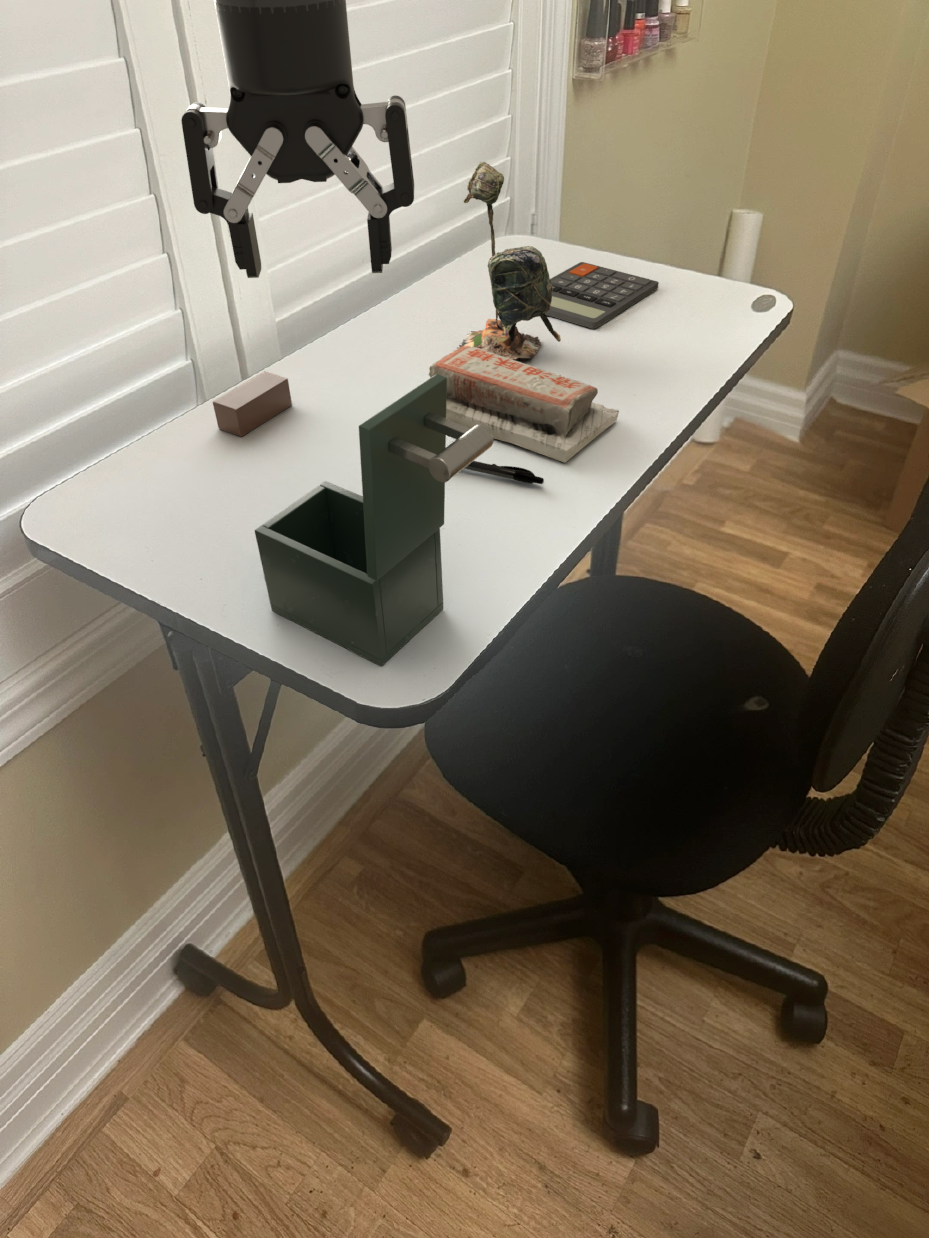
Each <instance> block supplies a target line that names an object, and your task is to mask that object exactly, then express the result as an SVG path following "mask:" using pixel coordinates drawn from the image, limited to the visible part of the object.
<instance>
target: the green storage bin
mask: <svg viewBox="0 0 929 1238" xmlns="http://www.w3.org/2000/svg"><path fill="white" fill-rule="evenodd" d="M254 535H255V540H256V545H257V549H258V554H259V558H260V562H261V566H262V567H261V568H262V572H263V577H264V581H265V586H266V590H267V595H268V601H269V603H270V608H271V611H272V612H274V613H276V614H277V615H280V616H282V617H283V618H285V619H287V620H288V621H289V620H290V621H292V622H293V623H295V624H297V625H299V626H301V627H303V628H305V629H307V630H308V631H311V632H312V633H315V634H317V635H318V636H321V637H323V638H325V639H327V640H329V641H331V642H332V643H334V644H336V645H338V646H340V647H342V648H345V649H346V650H348V651H350V652H352V653H354V654H356V655H358V656H359V657H362V658H364V659H365V660H368V661H370V662H372V663H374V664H376V665H378V666H380V667H383V666H384V665H385V664H386V663H387V662H388V661H390V659H391V658H393V656H394V655H396V654H397V653H398V652H399V651H400V650H401V649H402V648H403V647H404V646H405V645H407V644H408V643H409V642H410V641H411V640H412V639H413V638H415V636H416V635H417V634H418V633H419V632H420V631H421V630H423V629H424V628H425V626H427V625H428V624H429V623H430V622H431V621H432V620H433V619H435V617H436V616H437V615H439V613H441V612H442V611H443V610H444V592H443V591H444V589H443V588H444V586H443V567H442V566H443V565H442V563H443V562H442V549H441V548H442V543H441V542H442V541H441V527H440V528H439V529H438V530H437V531H436V532H434V533H433V534H432V535H431V536H430V537H428V538H427V539H426V540H425V541H424V542H422V543H421V544H420V545H419V546H418V547H416V548H415V549H414V550H413V551H412V552H410V553H409V554H408V555H407V556H406V557H405V558H403V559H402V560H401V561H400V562H399V563H397V564H396V565H395V566H394V567H393V568H391V569H390V570H389V571H388V572H387V573H385V574H384V575H383V576H382V577H381V578H379V579H378V580H377V581H375V580H373V579H371V578H369V577H368V576H367V560H366V543H365V526H364V509H363V495H361V494H358V493H356V492H354V491H352V490H348V489H346V488H344V487H341V486H338V485H337V484H334V483H332V482H329V481H327V480H324V481H323V482H321V483H320V484H319V485H317V486H316V487H314V488H313V489H311V490H310V491H309V492H307V493H306V494H305V495H303V496H302V497H300V498H298V499H297V500H296V501H294V502H292V504H290V505H288V506H287V507H285V509H283V510H281V511H280V512H278V513H277V514H276V515H274V516H273V517H271V518H270V519H268V520H267V521H265V522H264V523H263V524H261V525H259V526H258V527H256V528H255V529H254Z"/></svg>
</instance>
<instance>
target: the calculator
mask: <svg viewBox="0 0 929 1238" xmlns="http://www.w3.org/2000/svg"><path fill="white" fill-rule="evenodd" d="M550 280H551V284H552V289H553V293H552V301H551V306H550V309H549V311H547V312H546V313H545V315H546V316H547V317H548V316H549V317H552V318H556V319H558V320H562V321H565V322H568V323H571V324H575V325H579V326H582V327H585V328H589V329H592V330H595V329H597V328H599V327H600V326H602V325H603V324H605V323H606V322H608V321H609V320H611V319H613V318H614V317H616V316H617V315H619V314H621V313H622V312H624V311H625V310H627V309H628V308H630V307H632V306H633V305H635V304H637V303H638V302H640V301H641V300H643V299H644V298H646V297H647V296H649V295H650V294H652V293H654V292H656V291H657V290H658V289H659V281H658V280H654V279H650V278H645V277H641V276H638V275H634V274H630V273H628V272H627V273H626V272H623V271H619V270H615V269H611V268H609V267H604V266H600V265H596V264H592V263H588V262H584V261H580V262H578V263H577V264H575V265H573V266H571V267H569V268H567V269H565V270H563V271H561V272H560V273H558V274H556V275H555V276H553V277H550Z"/></svg>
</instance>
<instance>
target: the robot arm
mask: <svg viewBox="0 0 929 1238" xmlns="http://www.w3.org/2000/svg"><path fill="white" fill-rule="evenodd" d="M213 3H214V9H215V14H216V21H217V26H218V30H219V31H218V32H219V37H220V43H221V48H222V49H221V50H222V54H223V60H224V67H225V73H226V78H227V82H228V83H227V85H228V89H229V104H228V107H227V108H225V107H224V108H223V107H207V106H206V105H204V104H203V103H201V102H199V101H198V102H197V101H196V102H195V101H194V102H193V103H191V104H190V105H189V106H188V108H186V110H185V111H184V113H183V114H182V116H181V119H180V121H181V128H182V135H183V141H184V148H185V153H186V161H187V168H188V174H189V180H190V187H191V193H192V200H193V207H194V208H195V210H196V211H197V212H198V213H200V214H202V215H208V214H212V215H215V216H218V217H220V218H222V219H223V220H225V222H226V224H227V225H228V230H229V235H230V241H231V247H232V253H233V257H234V262H235V264H236V266H237V268H238V269H239V270H245V272H246V277H247V279H258V278H259V277H260V275H261V272H262V258H261V254H260V248H259V242H258V235H257V230H256V225H255V217H254V213H253V212H249V206H250V204H251V202H252V200H253V198H254V196H255V195H256V193H257V192H258V189H259V188H260V186H261V184H262V183H263V180H264V179H265V177H266V176H268V177H269V178H271V179H272V180H275V181H277V184H291V183H295V182H297V181H300V180H305V181H308V182H313V183H326V182H327V181H328V180H329V179H330V178H332V177H334V176H336V178H337V179H338V180H339V181H340V182H341V183H342V186H344V187H345V188H346V190H347V191H348V192H349V193H350V194H352V195H354V196H355V197H356V198H357V200H358V201H359V202H360V204H361V205H362V206H363V207H364V208H365V209H366V211H367V218H366V222H367V224H366V225H367V234H368V244H369V256H370V267H371V268H370V269H371V274H383V270H384V265H390V262H391V259H392V253H393V251H392V250H393V247H392V235H391V233H392V232H391V220H390V218H391V217H390V216H391V214H392V213H393V212H394V211H395V210H397V209H400V208H402V207H404V208H407V207H410V206H411V205H412V204H413V203H414V201H415V179H414V170H413V161H412V153H411V143H410V134H409V126H408V116H407V107H406V102H405V100H404V99H403V97H402V96H400V95H392V96H390V97H389V98H388V99H387V101H383V102H382V101H381V102H372V103H371V102H370V103H362V102H361V101H360V99H359V98H358V95H357V93H356V90H355V85H354V78H353V77H354V75H353V63H352V55H351V53H352V52H351V43H350V34H349V33H350V31H349V21H348V10H347V0H213ZM364 125H368V126H370V127H371V128H372V129H373V131H374V133H375V137H376V139H378V141H380V142H382V143H388V150H389V159H390V165H391V172H392V181H393V182H391V183H389V184H387V185H385V186H383V185H382V184H381V182H380V181H379V180H378V179H377V178H376V176H375V175H374V174H373V173H372V171H371V170H370V168H369V166H368V164H367V163H366V162H365V160H364V159H363V158H362V156H361V155H360V154H359V153H358V152H357V150H356V149H355V148H354V144H355V142H356V140H357V139H358V137H359V135H360V133H361V131H362V130H363V127H364ZM225 129H227V130H228V131H229V133H230V135H232V137H233V138H234V139H235V140H236V141H237V142H238V143H239V145H240V146H241V147H242V148H243V149H244V151H245V152H246V153H247V154H248V155H249V156H250V158H249V160H248V161H247V163H246V165H245V167H244V169H243V171H242V173H241V175H240V176H239V179H238V180H237V183H236V185H235V186H234V188H233V190H232V192H231V191H227V190H225V189H222V188H219V182H218V175H217V167H216V159H215V152H214V151H215V150H214V148H216V147H217V146H218V144H219V143H220V141H221V139H222V132H223V130H225Z"/></svg>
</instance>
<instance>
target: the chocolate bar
mask: <svg viewBox="0 0 929 1238" xmlns="http://www.w3.org/2000/svg"><path fill="white" fill-rule="evenodd" d="M292 401H293V400H292V396H291V391H290V383H289V379H288V378H287V377H285V376H281V375H278V374H275V373H273V372H269V371H265V370H264V371H262V372H261V373H259V374H257V375H256V376H254V377H252V378H250V379H249V380H246V381H245V382H243V383H242V384H240V385H238V386H236V387H235V388H233V389H232V390H230V391H228V392H226V393H224V394H223V395H221V396H219V397H218V398H216V399H214V400H213V401H212V405H213V410H214V414H215V415H214V416H215V419H216V424H217V427H218V429H219V430H222V431H224V432H227V433H230V434H233V435H235V436H238V437H240V438H241V437H242V438H243V437H245V435H248V434H249V433H250V432H252V431H254V430H255V429H257V428H259V427H260V426H261V425H263V424H264V423H266V422H268V421H269V420H271V419H272V418H274V417H276V416H277V415H279V414H280V413H281V412H283V411H285V410H287V409H288V408H290V407H291V406H292V405H293V402H292Z"/></svg>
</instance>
